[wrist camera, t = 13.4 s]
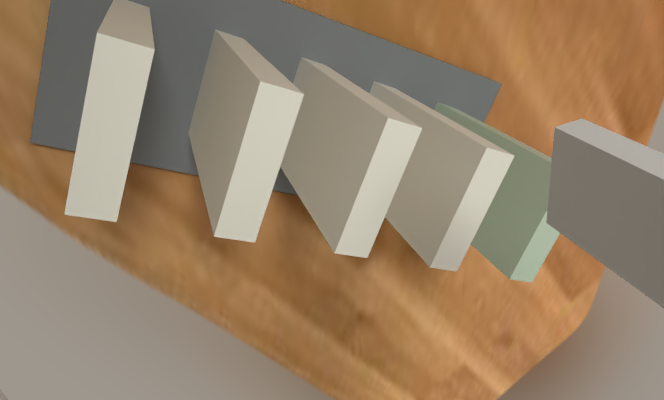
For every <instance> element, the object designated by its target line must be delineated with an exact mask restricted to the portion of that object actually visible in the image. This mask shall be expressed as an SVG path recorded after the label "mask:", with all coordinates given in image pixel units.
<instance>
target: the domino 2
mask: <svg viewBox="0 0 664 400" xmlns="http://www.w3.org/2000/svg"><path fill="white" fill-rule="evenodd" d="M303 96H304V94H303V93H302V92H301V91H300V90H299V89H298V88H297V87H296V86H295V85H294V84H293V83H291V82H290V81H289V80H288V79H287V78H286V77H285V76H284V75H283V74H282V73H281V72H279V71H278V70H277V69H276V68H275V67H274V66H273V65H272V64H271V63H270V62H269V61H268V60H266V59H265V58H264V57H263V56H262V55H261V54H260V53H259V52H258V51H257V50H256V49H254V48H253V47H252V46H251V45H250V44H249V43H248V42H247V41H246V40H245V39H243V38H240V37H237V36H234V35H231V34H228V33H225V32H222V31H219V30H216V29H215V32H214V36H213V39H212V43H211V47H210V51H209V55H208V59H207V63H206V67H205V70H204V74H203V78H202V82H201V86H200V90H199V94H198V97H197V101H196V105H195V109H194V113H193V117H192V121H191V125H190V128H189V132H188V134H189V138H190V142H191V146H192V150H193V154H194V158H195V162H196V166H197V170H198V174H199V178H200V182H201V186H202V190H203V194H204V198H205V202H206V207H207V211H208V215H209V219H210V223H211V227H212V231H213V235H214V237H220V238H227V239H234V240H241V241H248V242H255V241H256V238H257V235H258V232H259V229H260V226H261V223H262V220H263V217H264V214H265V211H266V208H267V205H268V202H269V199H270V196H271V193H272V190H273V187H274V184H275V181H276V178H277V175H278V172H279V169H280V166H281V163H282V160H283V157H284V154H285V151H286V148H287V145H288V141H289V138H290V135H291V132H292V129H293V126H294V123H295V120H296V117H297V114H298V111H299V108H300V105H301V102H302V99H303Z"/></svg>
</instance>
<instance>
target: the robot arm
mask: <svg viewBox="0 0 664 400" xmlns="http://www.w3.org/2000/svg"><path fill="white" fill-rule="evenodd" d="M546 223H547V224H549V225H550V226H551V227H553V228H554V229H555V230H557V231H558V232H560V233H561V234H562V235H564V236H565V237H566V238H568V239H569V240H571V241H572V242H573V243H575V244H576V245H577V246H579V247H580V248H582V249H583V250H584V251H586V252H587V253H588V254H590V255H591V256H593V257H594V258H595V259H597V260H598V261H599V262H601V263H602V264H604V265H605V266H606V267H608V268H609V269H610V270H612V271H613V272H615V273H616V274H617V275H619V276H620V277H621V278H623V279H624V280H626V281H627V282H629V283H630V284H631V285H632V286H634V287H635V288H637V289H638V290H640V291H641V292H642V293H644V294H645V295H646V296H648V297H649V298H650V299H652V300H653V301H655V302H656V303H657V304H659V305H660V306H661V307H663V308H664V154H663V153H660V152H658V151H656V150H653V149H651V148H649V147H647V146H644V145H642V144H640V143H637V142H635V141H633V140H630V139H628V138H626V137H623V136H621V135H619V134H617V133H614V132H612V131H610V130H607V129H605V128H603V127H600V126H598V125H596V124H593V123H591V122H589V121H586V120H584V119H579V120H576V121H573V122H570V123H566V124H563V125H560V126H557V127H555V131H554V142H553V153H552V164H551V175H550V187H549V198H548V209H547V220H546ZM0 400H8V399H7V398H6V397H5V395H4V394H3V393H2V392H1V390H0Z"/></svg>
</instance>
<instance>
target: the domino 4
mask: <svg viewBox="0 0 664 400" xmlns="http://www.w3.org/2000/svg"><path fill="white" fill-rule="evenodd" d="M369 94H371V95H372V96H374V97H376V98H377V99H379V100H380V101H382V102H383V103H385V104H386V105H388V106H389V107H391V108H392V109H394V110H395V111H397V112H399V113H400V114H402V115H403V116H405V117H406V118H408V119H409V120H411V121H412V122H414V123H415V124H417V125H419V126H420V127H422V130H421V133H420V135H419V137H418V140H417V142H416V145H415V147H414V149H413V152H412V154H411V156H410V159H409V161H408V163H407V166H406V168H405V170H404V173H403V175H402V178H401V180H400V182H399V185H398V187H397V189H396V192H395V194H394V196H393V199H392V201H391V203H390V206H389V208H388V211H387V213H386V215H385V218H386V219H387V220H388V221H389V222H390V223H391V225H392V226H393V227H394V228H395V229H396V230H397V231H398V232H399V234H400V235H401V236H402V237H403V238H404V239H405V240H406V241H407V242H408V244H409V245H410V246H411V247H412V248H413V249H414V250H415V251H416V253H417V254H418V255H419V256H420V257H421V258H422V259H423V260H424V261H425V263H426V264H427V265H428V266H429V267H430V268H437V269H444V270H450V271H457V270H458V268H459V266H460V264H461V262H462V260H463V258H464V256H465V254H466V252H467V250H468V248H469V246H470V244H471V242H472V240H473V238H474V236H475V234H476V232H477V230H478V228H479V226H480V224H481V222H482V220H483V218H484V216H485V214H486V212H487V210H488V208H489V206H490V204H491V202H492V200H493V198H494V196H495V194H496V192H497V190H498V188H499V186H500V184H501V182H502V180H503V178H504V176H505V174H506V172H507V170H508V168H509V166H510V164H511V162H512V160H513V158H514V155H513V154H511V153H509V152H507V151H505V150H504V149H502V148H500V147H498V146H497V145H495V144H493V143H491V142H490V141H488V140H486V139H484V138H482V137H481V136H479V135H477V134H475V133H474V132H472V131H470V130H468V129H466V128H465V127H463V126H461V125H459V124H458V123H456V122H454V121H452V120H451V119H449V118H447V117H445V116H443V115H442V114H440V113H438V112H436V111H435V110H433V109H431V108H429V107H428V106H426V105H424V104H422V103H420V102H419V101H417V100H415V99H413V98H412V97H410V96H408V95H406V94H404V93H403V92H401V91H399V90H397V89H396V88H393V87H390V86H387V85H384V84H381V83H378V82H375V81H374V82H373V85H372V88H371V90H370V93H369Z"/></svg>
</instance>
